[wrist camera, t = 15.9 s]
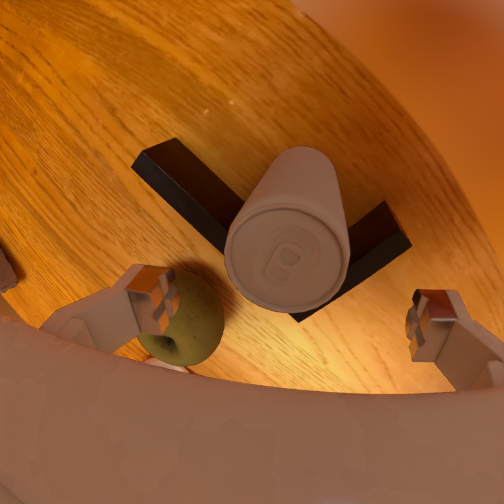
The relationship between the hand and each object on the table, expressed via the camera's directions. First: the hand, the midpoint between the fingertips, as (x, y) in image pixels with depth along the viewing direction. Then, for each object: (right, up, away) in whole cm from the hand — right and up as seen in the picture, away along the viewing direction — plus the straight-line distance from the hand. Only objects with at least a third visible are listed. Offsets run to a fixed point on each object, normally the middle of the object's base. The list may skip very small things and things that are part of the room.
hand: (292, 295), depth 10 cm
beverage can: (+2, +7, +12) cm, 14 cm away
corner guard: (+1, +7, +12) cm, 14 cm away
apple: (-7, -2, +19) cm, 20 cm away
